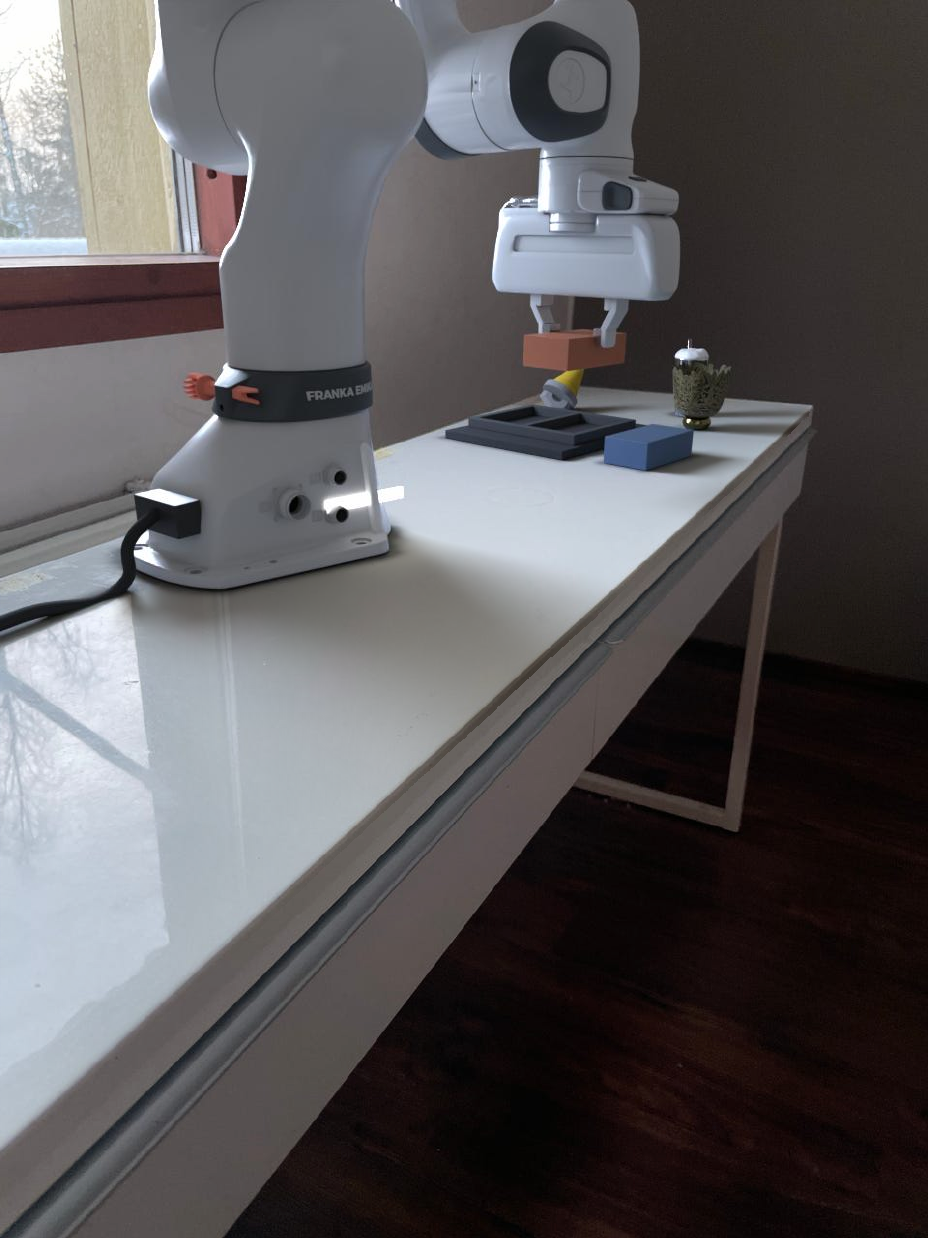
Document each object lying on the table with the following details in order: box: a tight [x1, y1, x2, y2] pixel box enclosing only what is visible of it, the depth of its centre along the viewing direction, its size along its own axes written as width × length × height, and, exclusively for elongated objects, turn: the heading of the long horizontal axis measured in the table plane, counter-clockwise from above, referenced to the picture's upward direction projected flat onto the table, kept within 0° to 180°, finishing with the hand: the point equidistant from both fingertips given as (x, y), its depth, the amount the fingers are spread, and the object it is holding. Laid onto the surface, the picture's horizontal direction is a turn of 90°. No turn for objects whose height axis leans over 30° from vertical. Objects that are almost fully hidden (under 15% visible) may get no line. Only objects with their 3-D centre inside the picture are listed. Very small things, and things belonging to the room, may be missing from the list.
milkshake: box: [674, 338, 710, 418], centre depth 132 cm, size 4×5×10 cm
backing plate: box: [444, 403, 648, 461], centre depth 120 cm, size 20×18×2 cm
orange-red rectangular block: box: [522, 328, 628, 372], centre depth 96 cm, size 10×6×3 cm, turn 138°
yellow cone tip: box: [539, 369, 585, 410], centre depth 136 cm, size 5×5×10 cm
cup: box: [671, 362, 733, 431], centre depth 124 cm, size 8×7×8 cm
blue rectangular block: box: [603, 423, 695, 472], centre depth 108 cm, size 10×6×3 cm, turn 138°
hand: (576, 344), depth 96 cm, fingers closed on orange-red rectangular block, 5 cm apart
